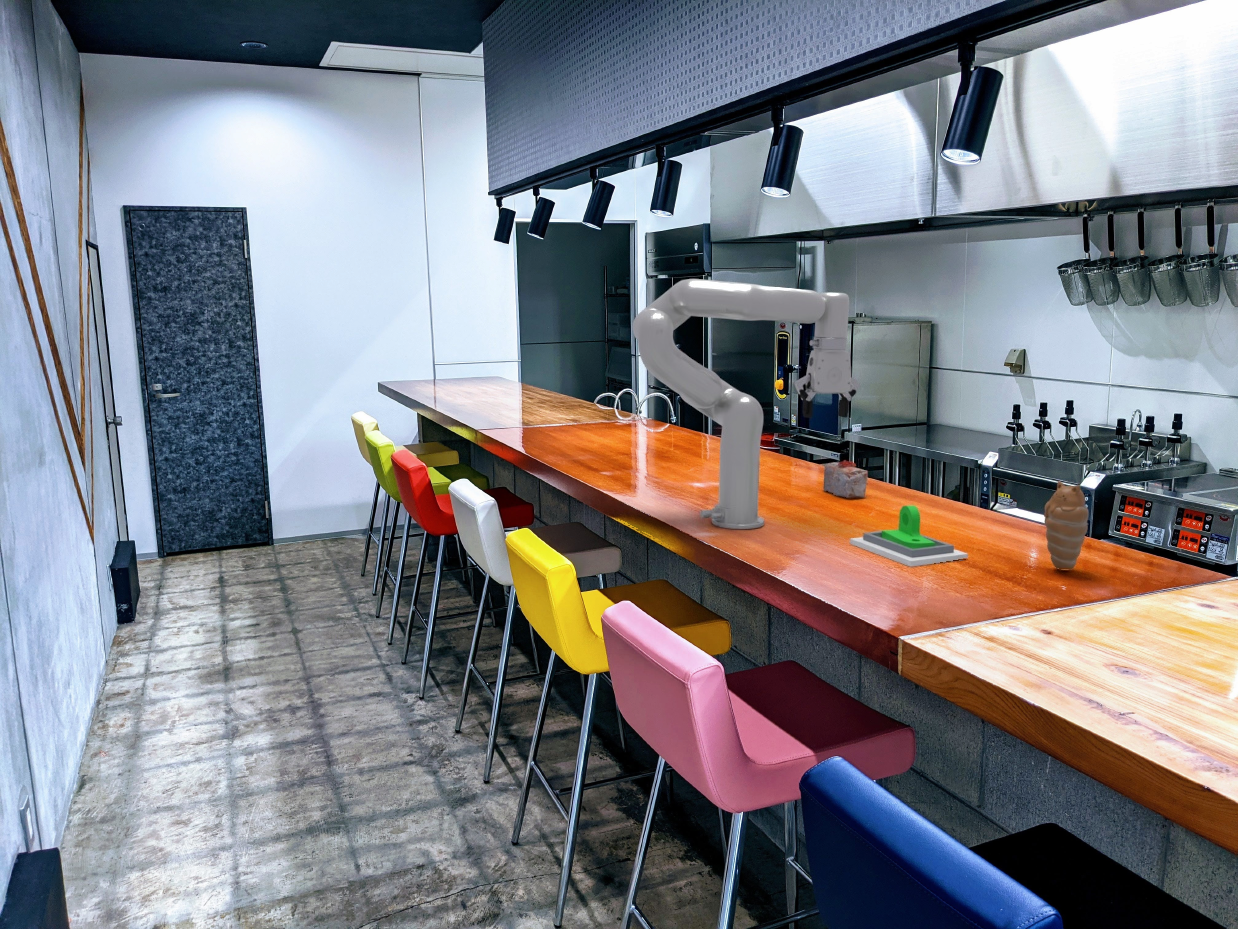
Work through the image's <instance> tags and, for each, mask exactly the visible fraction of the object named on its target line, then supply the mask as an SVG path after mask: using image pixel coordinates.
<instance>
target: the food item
mask: <svg viewBox="0 0 1238 929" xmlns="http://www.w3.org/2000/svg"><path fill="white" fill-rule="evenodd" d="M856 466H857V465H856V463H855V462H854V461H851V460H850V461H849V460H846V459H844V460H843V461H840V462H839V461H837V462H834V461H833V462H829V463H826V464H825V465H824V470H823V472H824V473H823V486H822V487H823V488H822V489H823V491H824V492H826V491H828V492H827V493H830V494H832V493H833V496H834V495H836V496H835V497H843V498H845V497H846V499H848V498H856V499H865V498H866V493H867V492H866V491H867V485H868V478H869V477H868V474H869V473H868V472H869V471H868V470H864V469H862V468H858V467H856Z"/></svg>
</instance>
